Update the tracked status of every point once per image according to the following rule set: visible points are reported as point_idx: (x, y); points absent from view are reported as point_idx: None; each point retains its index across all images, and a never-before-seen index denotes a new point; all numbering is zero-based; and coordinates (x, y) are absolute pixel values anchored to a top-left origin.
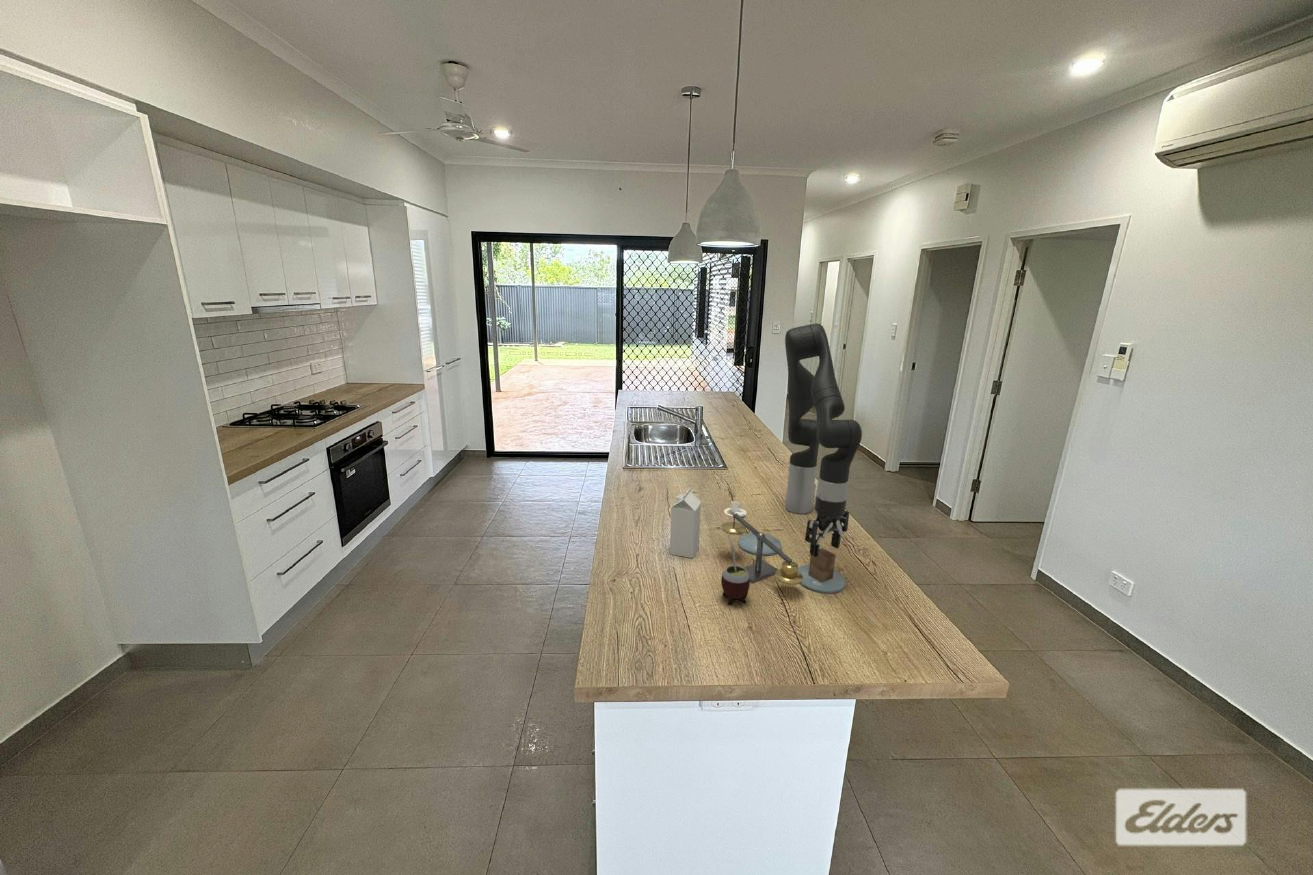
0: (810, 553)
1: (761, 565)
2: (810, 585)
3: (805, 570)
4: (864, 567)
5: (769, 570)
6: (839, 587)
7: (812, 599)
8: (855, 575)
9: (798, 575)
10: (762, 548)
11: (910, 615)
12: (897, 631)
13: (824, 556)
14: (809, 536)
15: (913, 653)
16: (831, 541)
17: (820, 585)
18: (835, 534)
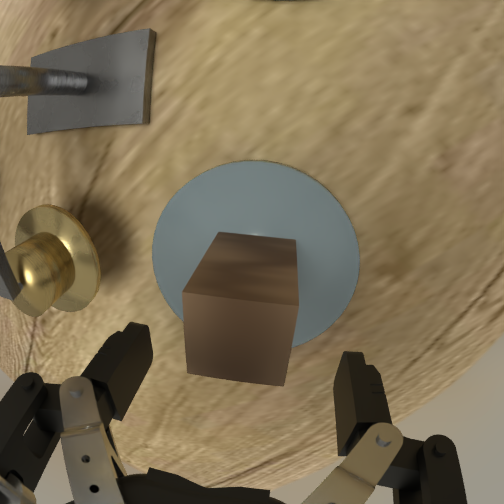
0: (131, 324)
1: (110, 61)
2: (164, 280)
3: (242, 198)
4: (463, 310)
5: (106, 109)
6: None
7: (132, 309)
8: (393, 322)
9: (79, 288)
10: (2, 95)
11: (294, 453)
12: (217, 452)
13: (209, 362)
14: (35, 410)
15: (187, 467)
16: (349, 369)
17: None
18: (353, 437)
